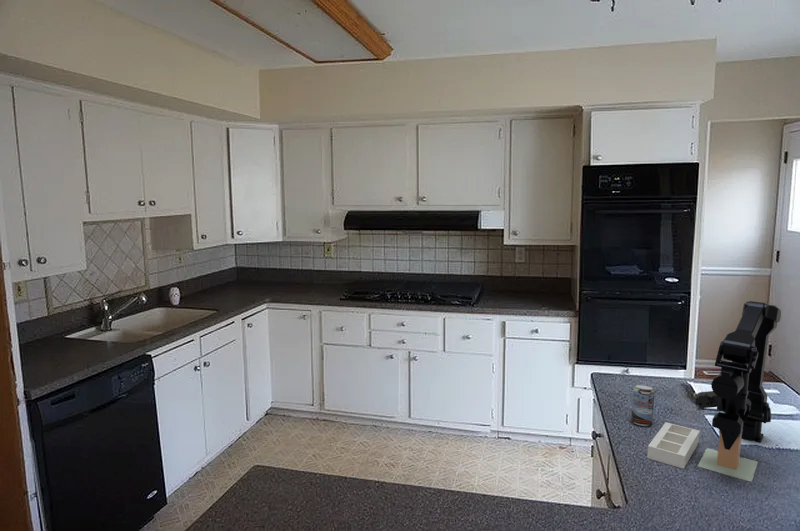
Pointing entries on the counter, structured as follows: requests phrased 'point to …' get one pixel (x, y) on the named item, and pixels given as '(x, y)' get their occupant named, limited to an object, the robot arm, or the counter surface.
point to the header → (673, 445)
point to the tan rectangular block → (729, 453)
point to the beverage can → (642, 405)
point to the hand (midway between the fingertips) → (729, 443)
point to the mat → (742, 472)
